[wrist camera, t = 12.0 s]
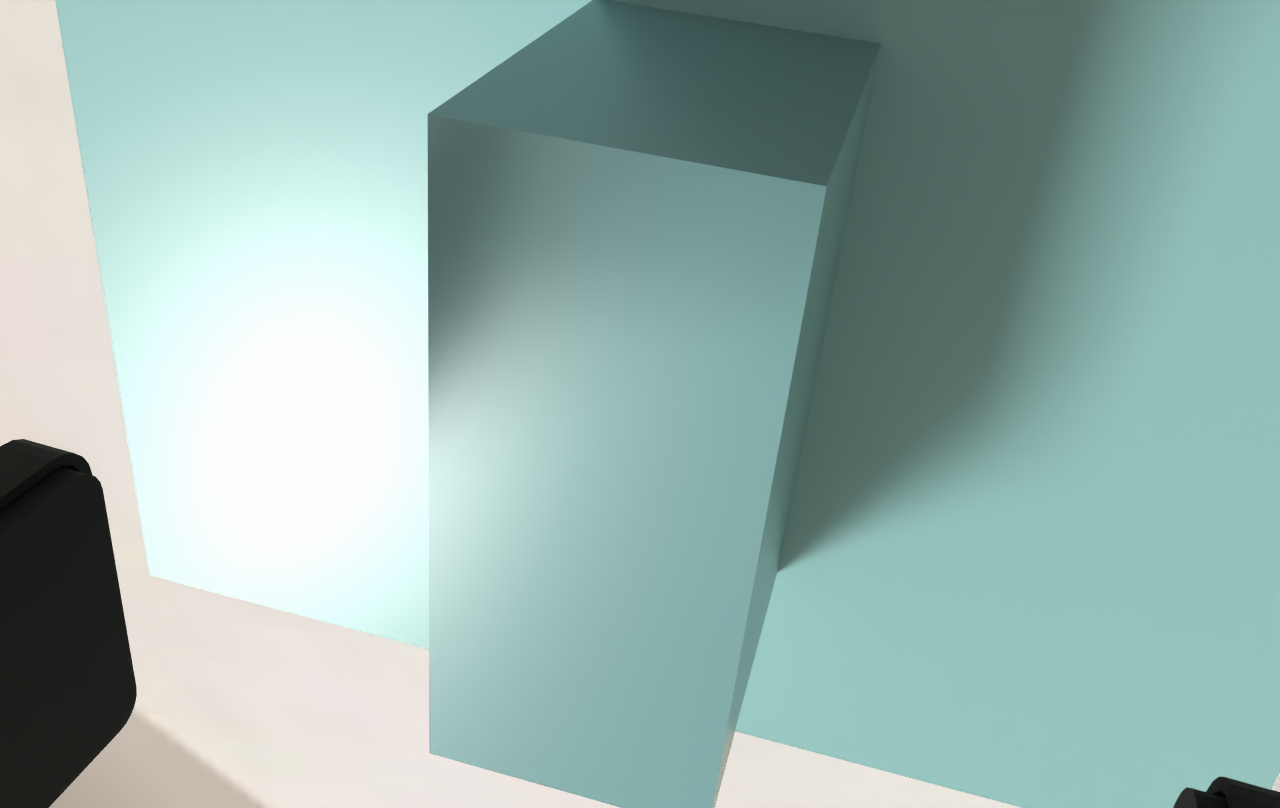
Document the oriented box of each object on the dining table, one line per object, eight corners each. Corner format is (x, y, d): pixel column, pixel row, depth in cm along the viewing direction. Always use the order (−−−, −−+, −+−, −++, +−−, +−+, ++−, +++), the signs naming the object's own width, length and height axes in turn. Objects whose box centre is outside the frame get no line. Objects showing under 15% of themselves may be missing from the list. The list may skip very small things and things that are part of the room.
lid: (1672, -226, 13) (2347, -166, 6) (1205, 733, 21) (1295, 1197, 14) (134, -389, 16) (-446, -457, 10) (232, 491, 24) (-53, 778, 18)
